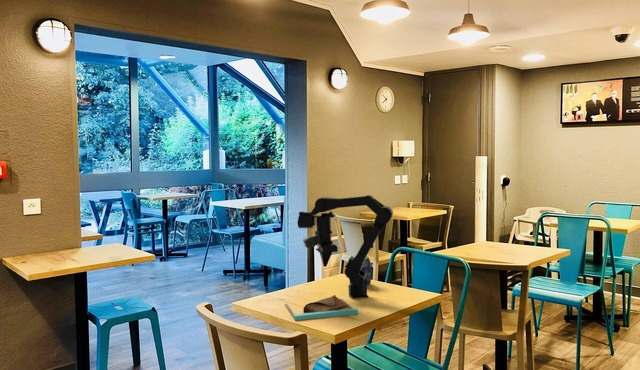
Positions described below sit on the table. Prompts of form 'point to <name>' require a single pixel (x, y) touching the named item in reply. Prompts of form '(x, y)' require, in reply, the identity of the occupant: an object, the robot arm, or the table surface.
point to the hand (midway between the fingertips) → (324, 266)
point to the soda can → (367, 270)
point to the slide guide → (323, 313)
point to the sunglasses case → (325, 305)
